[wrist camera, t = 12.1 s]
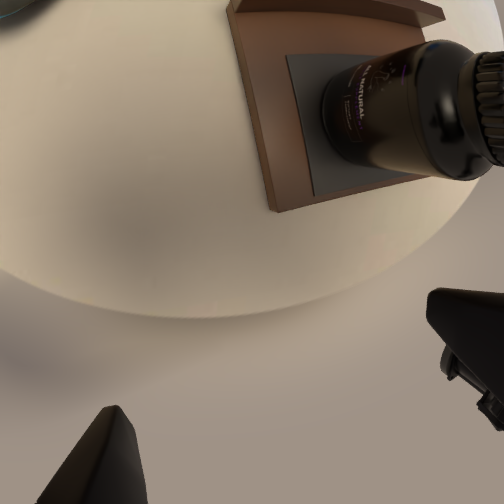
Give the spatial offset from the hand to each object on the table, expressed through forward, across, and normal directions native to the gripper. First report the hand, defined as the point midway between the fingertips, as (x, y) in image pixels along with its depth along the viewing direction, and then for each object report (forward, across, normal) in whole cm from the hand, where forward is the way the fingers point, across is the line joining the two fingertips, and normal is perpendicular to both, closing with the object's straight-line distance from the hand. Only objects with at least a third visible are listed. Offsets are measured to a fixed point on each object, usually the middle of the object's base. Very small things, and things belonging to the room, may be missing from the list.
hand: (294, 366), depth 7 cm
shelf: (+13, -12, -8) cm, 19 cm away
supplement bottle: (+12, -11, -6) cm, 17 cm away
